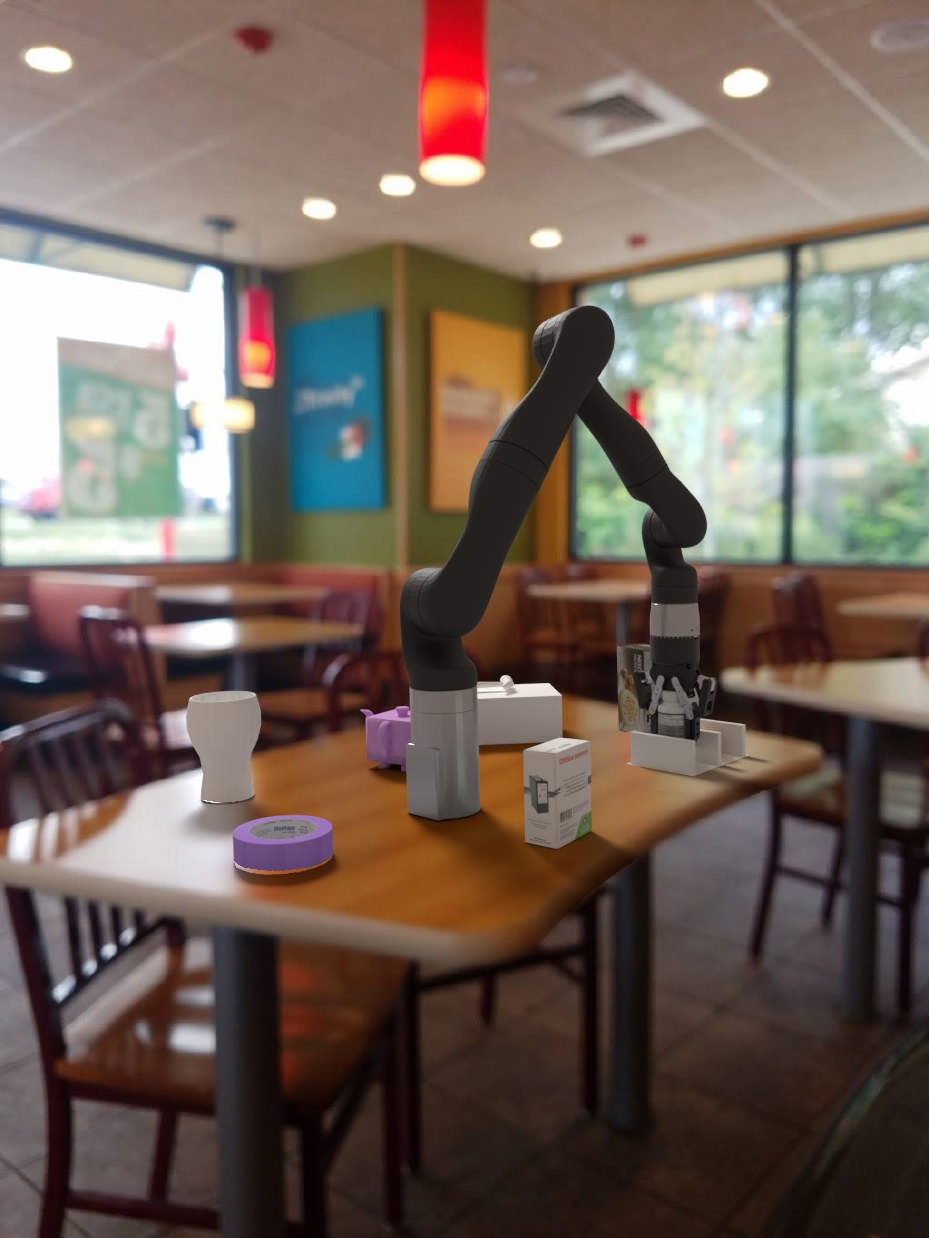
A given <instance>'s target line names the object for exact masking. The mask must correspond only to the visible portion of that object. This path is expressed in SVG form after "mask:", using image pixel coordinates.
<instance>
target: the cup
mask: <svg viewBox="0 0 929 1238" xmlns="http://www.w3.org/2000/svg"><path fill="white" fill-rule="evenodd" d="M185 720H186V721H185V723H186V731H187V734H188V738H189V740H190V743H191V745H192V747H193V748H194V750H195V752H196V754H197V755H198V757H199V759H200V760H199V761H200V765H201V770H202V779H201V780H202V781H201V789H200V800H201V799H202V800H207V801H213V802H232V803H237V802H236V801H238V802H242V801H246V800H249V799H251V798H253V797H254V796H255V786H254V783H253V778H252V773H251V762H252V753H253V750H254V748H255V746H256V744H257V741H258V739H259V734H260V732H261V731H260V730H261V726H262V710H261V707H260V704H259V700H258V696H257V694H256V693H255V692H253V691H252V692H251V691H246V690H245V691H244V690H243V691H242V690H224V691H222V690H221V691H212V692H204V693H200V694H195V695H193V696H191V697H189V699H188V703H187V709H186V715H185ZM202 800H201V801H202Z"/></svg>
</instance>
